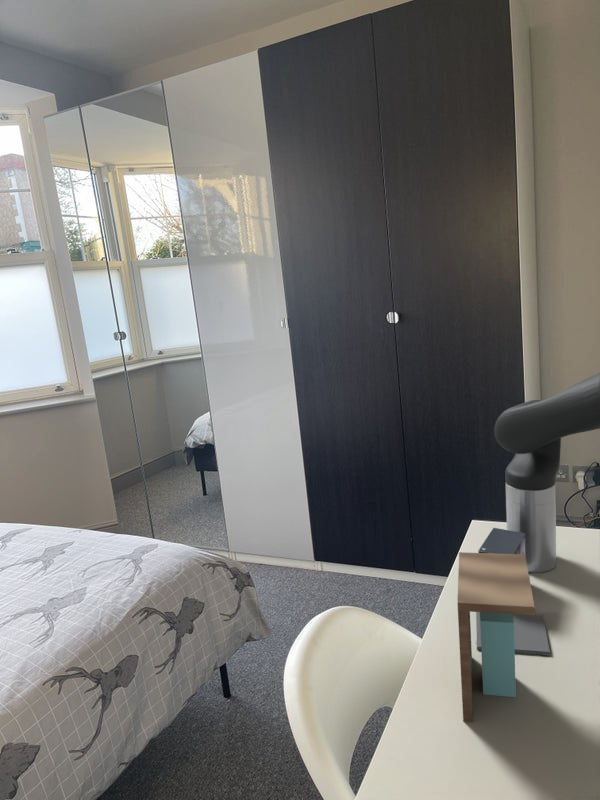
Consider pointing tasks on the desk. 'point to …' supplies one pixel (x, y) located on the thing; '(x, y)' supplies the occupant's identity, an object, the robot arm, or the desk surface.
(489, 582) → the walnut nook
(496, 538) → the small box
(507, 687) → the teal block
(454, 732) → the desk surface
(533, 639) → the rubber mat
